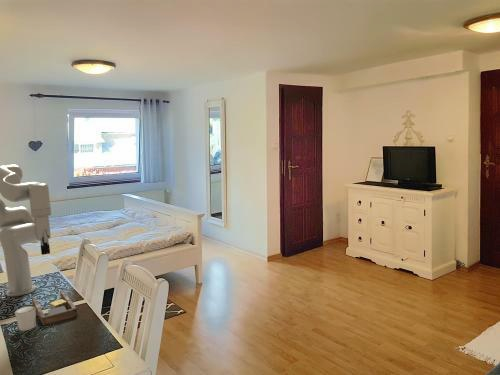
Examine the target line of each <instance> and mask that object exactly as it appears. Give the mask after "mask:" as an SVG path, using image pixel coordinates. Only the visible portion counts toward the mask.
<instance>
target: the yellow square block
mask: <svg viewBox="0 0 500 375" xmlns="http://www.w3.org/2000/svg"><path fill="white" fill-rule="evenodd" d="M61 306H65V308H66V309H68V306H67V301H65V300H63V299H61V298H60V299H58V300H55V301H52V302H49V310H50V309H54V308H58V307H61Z"/></svg>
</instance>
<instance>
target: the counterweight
mask: <svg viewBox="0 0 500 375" xmlns="http://www.w3.org/2000/svg"><path fill="white" fill-rule="evenodd" d="M65 310H67V308H65V306H61V307H58V308H54V309H50V308H49V309H48V310H47V313H48V314H47V315H51V314H55V313H58V312H62V311H65Z"/></svg>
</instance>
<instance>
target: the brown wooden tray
mask: <svg viewBox="0 0 500 375" xmlns="http://www.w3.org/2000/svg"><path fill="white" fill-rule="evenodd" d="M59 293H60V294H59V295H60V299H63V300H65V301H67V306H68V308H67V309H66V310H65V311H62V312H58V313H55V314H51V315H48V314H47V315H45V314H44V312H43V311H42V308H41V306H40V304H39V302H38V300H37V298H36V297H35V296H34V297H31V303H32V306H34V307H35V309H36V316H38V318H39V320H40V323H41V325H42V326H43V325H44V326H46V325H50V324H53V323H56V322H60V321H64V320H68V319H71V318H74V317H77V316H78V310H77V309H78V308H77V307H76V306H75V305H74V303H73V302H72V300H71V299H70V298H69V296H68V295H67V294H66V293H65V292H64V290H63V289H62V290H59Z"/></svg>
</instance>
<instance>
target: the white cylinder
mask: <svg viewBox="0 0 500 375" xmlns="http://www.w3.org/2000/svg"><path fill="white" fill-rule="evenodd" d="M14 314H15V315H14V316H15V319H16V324H17V325H18V329H19V330H18V331H23V332H25V331H30V330H32V329H34V328H35V327H36V326H37V320H36V319H37V318H36V317H37V313H36V309H35V307H34V306H33V305H27V306H23V307H21V308H18V309H16V310H15V311H14Z"/></svg>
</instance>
